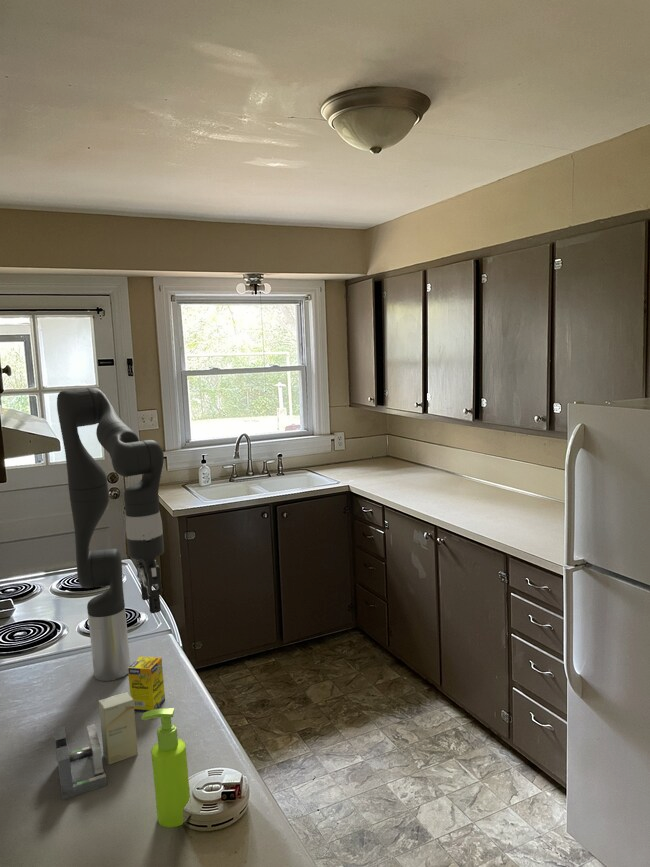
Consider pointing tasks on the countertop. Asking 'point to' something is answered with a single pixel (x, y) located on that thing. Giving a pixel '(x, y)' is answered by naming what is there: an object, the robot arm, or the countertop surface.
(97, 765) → the grey t-shaped piece
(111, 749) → the skincare box
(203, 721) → the countertop surface
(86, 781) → the grey bracket with rod
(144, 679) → the supplement box
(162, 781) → the soap dispenser
